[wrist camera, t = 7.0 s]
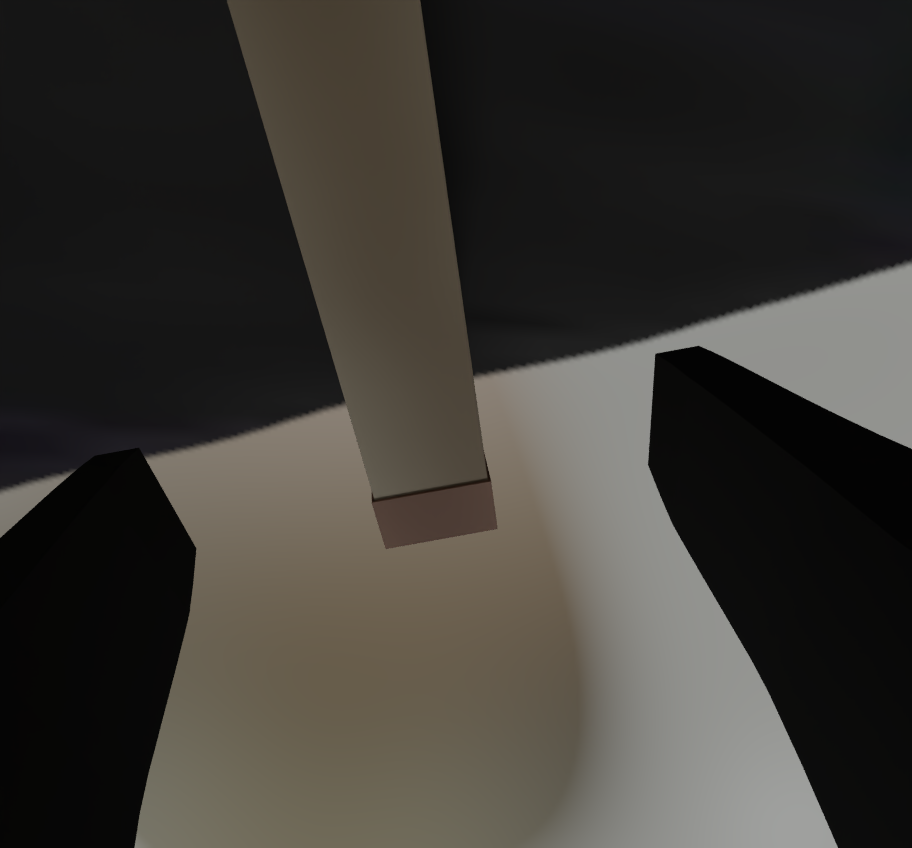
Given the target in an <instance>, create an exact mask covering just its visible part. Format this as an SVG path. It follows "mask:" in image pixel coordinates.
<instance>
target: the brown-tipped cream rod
mask: <svg viewBox="0 0 912 848" xmlns="http://www.w3.org/2000/svg"><path fill="white" fill-rule="evenodd" d="M227 2H228V5H229V9H230V12H231V16H232V19H233V22H234V26H235V29H236V33H237V36H238V39H239V43H240V46H241V50H242V53H243V56H244V60H245V63H246V66H247V70H248V73H249V77H250V80H251V83H252V87H253V90H254V94H255V97H256V100H257V104H258V107H259V110H260V114H261V117H262V121H263V124H264V127H265V131H266V134H267V138H268V141H269V144H270V148H271V151H272V154H273V158H274V161H275V165H276V168H277V171H278V175H279V178H280V182H281V185H282V188H283V192H284V195H285V198H286V202H287V205H288V209H289V212H290V215H291V219H292V222H293V226H294V229H295V232H296V236H297V239H298V242H299V246H300V249H301V253H302V256H303V259H304V263H305V266H306V270H307V273H308V276H309V280H310V283H311V286H312V290H313V293H314V297H315V300H316V303H317V307H318V310H319V314H320V317H321V320H322V324H323V327H324V331H325V334H326V337H327V341H328V344H329V347H330V351H331V354H332V358H333V361H334V364H335V368H336V371H337V375H338V378H339V381H340V385H341V388H342V391H343V395H344V398H345V402H346V405H347V408H348V412H349V415H350V419H351V422H352V425H353V429H354V432H355V435H356V439H357V442H358V445H359V449H360V452H361V456H362V459H363V462H364V466H365V469H366V473H367V476H368V479H369V483H370V486H371V490H372V505H373V508H374V511H375V515H376V518H377V522H378V525H379V528H380V531H381V535H382V538H383V542H384V545H385V548H386V549H388V548H393V547H399V546H405V545H411V544H416V543H421V542H427V541H433V540H438V539H443V538H449V537H455V536H460V535H466V534H472V533H477V532H483V531H488V530H494V529H497V521H496V514H495V507H494V499H493V492H492V485H491V479H490V475H489V471H488V467H487V462H486V459H485V454H484V450H483V443H482V436H481V429H480V422H479V415H478V408H477V401H476V394H475V386H474V379H473V372H472V365H471V358H470V351H469V344H468V336H467V329H466V322H465V315H464V308H463V301H462V294H461V287H460V280H459V273H458V266H457V258H456V251H455V244H454V237H453V230H452V223H451V216H450V209H449V202H448V195H447V188H446V180H445V173H444V166H443V159H442V152H441V145H440V138H439V131H438V124H437V117H436V110H435V102H434V95H433V88H432V81H431V74H430V67H429V60H428V53H427V46H426V39H425V32H424V24H423V17H422V10H421V3H420V0H227Z"/></svg>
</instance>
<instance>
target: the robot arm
mask: <svg viewBox="0 0 912 848" xmlns="http://www.w3.org/2000/svg"><path fill="white" fill-rule="evenodd" d="M649 445H650V446H649V460H648V466H649V468H650V471H651V473H652V476H653V478H654V481H655V483H656V486H657V488H658V491H659V493H660V496H661V498H662V501H663V503H664V505H665V508H666V510H667V512H668V514H669V517H670V519H671V521H672V524H673V526H674V527H675V529H676V531H677V533H678V535H679V536H680V538H681V540H682V542H683V543H684V545H685V547H686V549H687V550H688V552H689V554H690V556H691V557H692V559H693V561H694V562H695V564H696V566H697V568H698V569H699V571H700V573H701V574H702V576H703V578H704V579H705V581H706V583H707V585H708V586H709V588H710V590H711V592H712V593H713V595H714V597H715V598H716V600H717V602H718V604H719V605H720V607H721V609H722V610H723V612H724V614H725V615H726V617H727V619H728V621H729V622H730V624H731V626H732V627H733V629H734V631H735V633H736V634H737V636H738V638H739V639H740V641H741V643H742V645H743V646H744V648H745V650H746V651H747V653H748V655H749V656H750V658H751V660H752V662H753V663H754V666H755V667H756V669H757V671H758V673H759V675H760V677H761V679H762V681H763V683H764V684H765V686H766V688H767V690H768V692H769V694H770V696H771V698H772V701H773V703H774V705H775V707H776V709H777V711H778V714H779V716H780V718H781V720H782V722H783V724H784V727H785V729H786V731H787V733H788V735H789V737H790V740H791V742H792V744H793V746H794V748H795V750H796V753H797V755H798V757H799V759H800V761H801V764H802V766H803V768H804V770H805V773H806V775H807V777H808V780H809V782H810V784H811V786H812V789H813V791H814V793H815V796H816V798H817V800H818V802H819V805H820V807H821V809H822V812H823V814H824V816H825V819H826V821H827V823H828V826H829V828H830V830H831V832H832V835H833V837H834V839H835V842H836V844H837V846H838V848H912V449H911V448H908V447H906V446H904V445H901V444H899V443H897V442H895V441H892V440H890V439H888V438H886V437H883V436H881V435H879V434H876V433H875V432H872V431H870V430H868V429H866V428H864V427H862V426H859V425H858V424H855V423H853V422H851V421H849V420H847V419H845V418H843V417H841V416H839V415H837V414H835V413H832V412H831V411H828V410H826V409H824V408H822V407H820V406H818V405H816V404H814V403H812V402H810V401H808V400H806V399H804V398H803V397H801V396H799V395H797V394H794V393H792V392H791V391H789V390H787V389H785V388H783V387H781V386H779V385H777V384H775V383H773V382H771V381H769V380H767V379H765V378H764V377H762V376H760V375H758V374H755V373H754V372H752V371H750V370H748V369H746V368H744V367H742V366H740V365H738V364H736V363H734V362H732V361H730V360H728V359H726V358H724V357H722V356H720V355H718V354H716V353H714V352H712V351H709V350H707V349H705V348H702V347H700V346H696V347H690V348H685V349H679V350H674V351H668V352H663V353H657V354H656V355H655V368H654V383H653V399H652V415H651V430H650V444H649ZM195 557H196V547H195V546H194V544H193V542H192V540H191V538H190V537H189V535H188V533H187V531H186V530H185V528H184V526H183V524H182V522H181V521H180V519H179V517H178V515H177V514H176V512H175V510H174V508H173V507H172V505H171V503H170V501H169V500H168V498H167V496H166V494H165V493H164V491H163V489H162V487H161V486H160V484H159V482H158V480H157V479H156V477H155V475H154V473H153V472H152V470H151V468H150V466H149V465H148V463H147V461H146V459H145V457H144V456H143V454H142V452H141V450H140V449H139V448H135V449H130V450H124V451H119V452H113V453H108V454H102V455H97V456H94V457H93V458H91V459H90V460H89V461H87V462H86V463H85V464H83V465H82V466H81V467H80V468H78V469H77V470H76V471H75V472H73V473H72V474H71V475H70V476H69V477H68V478H66V479H65V480H64V481H63V482H62V483H61V484H60V485H58V486H57V487H56V488H55V489H54V490H53V491H52V492H50V493H49V494H48V495H47V496H46V497H45V498H44V499H43V500H42V501H41V502H39V503H38V504H37V505H36V506H35V507H34V508H33V509H32V510H31V511H29V513H27V514H26V515H25V516H24V517H23V518H22V519H21V520H20V521H18V523H16V524H15V525H14V526H13V527H12V528H11V529H10V530H9V531H7V532H6V533H5V534H4V535H3V536H2V537H1V538H0V848H134V846H135V840H136V834H137V826H138V820H139V815H140V810H141V805H142V800H143V796H144V791H145V787H146V782H147V777H148V773H149V769H150V765H151V761H152V757H153V754H154V750H155V746H156V742H157V739H158V734H159V731H160V727H161V723H162V719H163V715H164V711H165V708H166V704H167V700H168V697H169V693H170V689H171V685H172V681H173V677H174V674H175V670H176V666H177V662H178V658H179V653H180V650H181V646H182V642H183V638H184V634H185V629H186V626H187V621H188V617H189V612H190V604H191V596H192V588H193V579H194V568H195Z"/></svg>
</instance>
